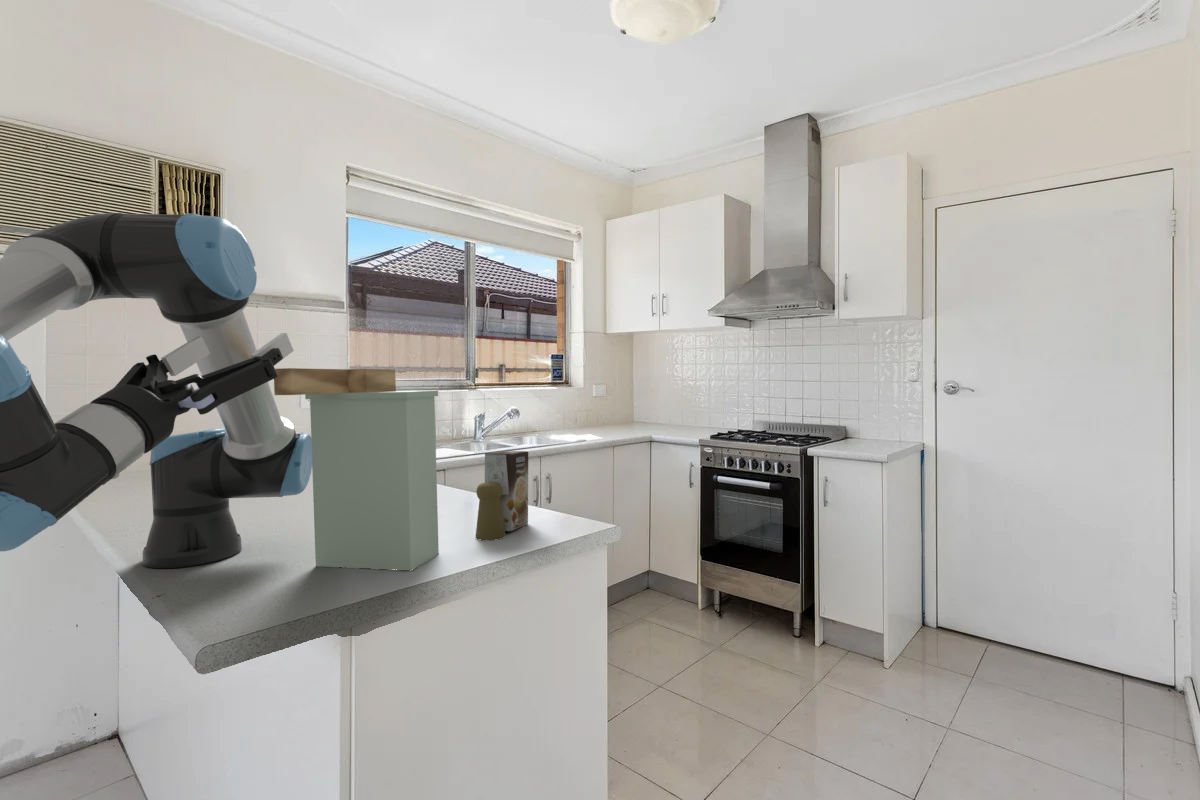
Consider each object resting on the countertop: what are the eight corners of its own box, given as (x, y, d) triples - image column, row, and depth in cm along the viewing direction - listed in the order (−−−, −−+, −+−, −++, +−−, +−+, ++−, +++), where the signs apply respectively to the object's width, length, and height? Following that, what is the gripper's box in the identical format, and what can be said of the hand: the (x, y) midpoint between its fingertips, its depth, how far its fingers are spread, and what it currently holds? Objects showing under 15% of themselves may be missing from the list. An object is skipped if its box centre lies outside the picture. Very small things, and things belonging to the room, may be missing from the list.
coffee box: (511, 532, 122) (511, 453, 122) (483, 530, 124) (483, 453, 124) (529, 523, 131) (529, 450, 131) (502, 522, 132) (502, 450, 133)
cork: (499, 541, 117) (498, 485, 117) (470, 540, 118) (469, 485, 118) (509, 533, 123) (508, 480, 123) (482, 532, 124) (481, 480, 124)
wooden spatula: (254, 395, 90) (253, 369, 90) (348, 391, 112) (347, 370, 112) (312, 394, 88) (311, 367, 88) (395, 391, 110) (395, 369, 110)
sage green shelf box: (311, 567, 102) (305, 393, 101) (350, 548, 113) (345, 391, 112) (412, 572, 99) (407, 392, 98) (442, 553, 109) (438, 390, 108)
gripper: (46, 456, 69) (182, 369, 87) (229, 458, 64) (334, 365, 82) (6, 402, 65) (157, 322, 83) (197, 399, 61) (314, 315, 78)
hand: (245, 343), depth 83 cm, fingers open, 13 cm apart
